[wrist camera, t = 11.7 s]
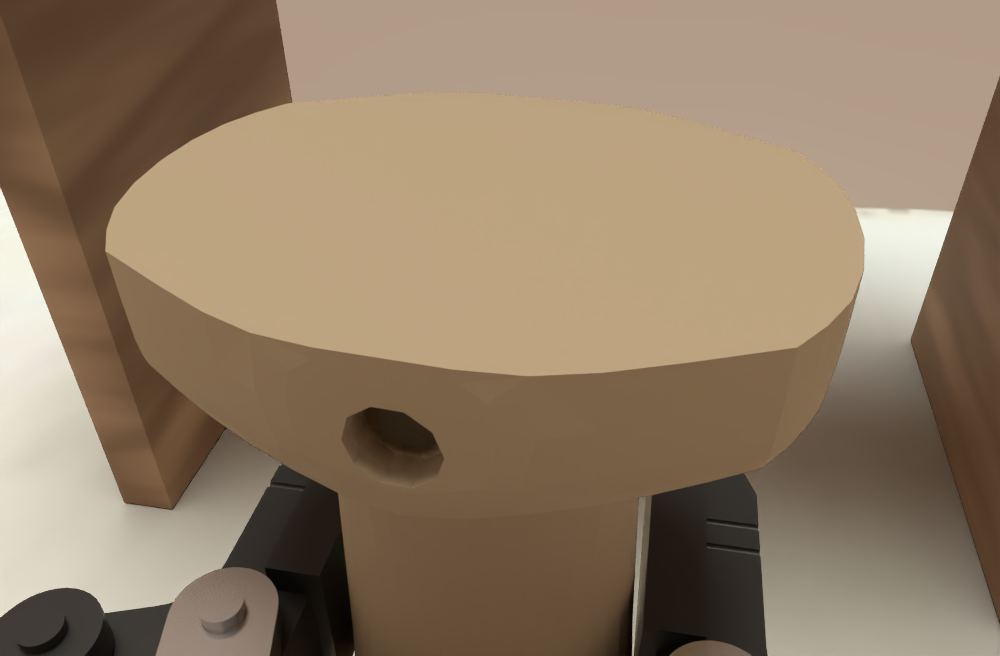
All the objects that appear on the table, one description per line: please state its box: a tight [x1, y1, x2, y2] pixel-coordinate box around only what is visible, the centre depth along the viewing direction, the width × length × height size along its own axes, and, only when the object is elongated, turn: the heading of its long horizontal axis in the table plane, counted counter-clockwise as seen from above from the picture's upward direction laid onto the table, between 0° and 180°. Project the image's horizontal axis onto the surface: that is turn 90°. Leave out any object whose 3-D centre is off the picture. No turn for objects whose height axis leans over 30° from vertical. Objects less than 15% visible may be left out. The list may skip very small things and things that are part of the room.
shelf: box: [0, 0, 1000, 622], centre depth 20 cm, size 25×12×24 cm, turn 79°
